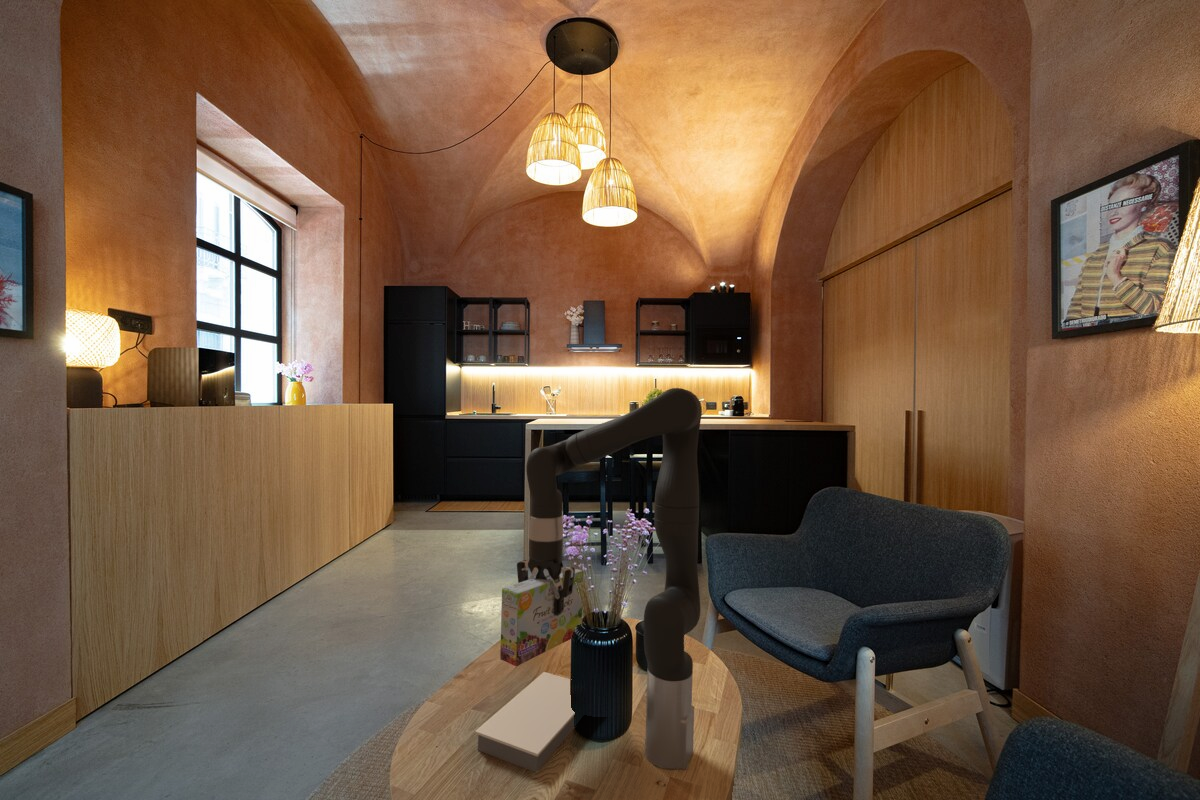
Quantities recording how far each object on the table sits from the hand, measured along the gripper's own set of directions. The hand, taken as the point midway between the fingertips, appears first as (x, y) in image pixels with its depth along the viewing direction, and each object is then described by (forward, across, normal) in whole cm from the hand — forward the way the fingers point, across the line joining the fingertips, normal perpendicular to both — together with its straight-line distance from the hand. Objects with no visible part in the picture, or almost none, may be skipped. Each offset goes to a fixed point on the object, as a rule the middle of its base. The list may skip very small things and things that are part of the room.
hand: (544, 611), depth 115 cm
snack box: (+8, 0, 0) cm, 8 cm away
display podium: (+25, 0, 0) cm, 25 cm away
